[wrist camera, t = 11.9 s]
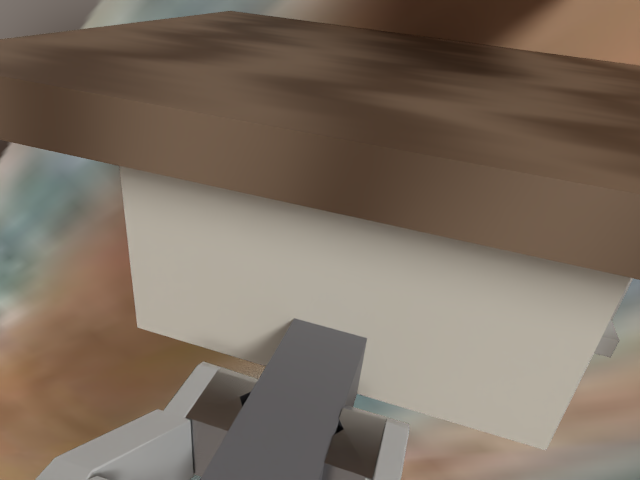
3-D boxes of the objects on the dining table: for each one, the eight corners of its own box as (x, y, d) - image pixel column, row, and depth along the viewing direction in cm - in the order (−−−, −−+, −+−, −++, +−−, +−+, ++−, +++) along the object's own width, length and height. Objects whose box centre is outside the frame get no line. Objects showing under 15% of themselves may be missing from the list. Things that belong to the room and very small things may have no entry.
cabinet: (575, 132, 17) (772, 461, 5) (524, 273, 20) (576, 691, 8) (260, 79, 20) (-86, 221, 8) (255, 212, 23) (-2, 462, 11)
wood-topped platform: (679, 71, 22) (1125, 283, 7) (586, 281, 27) (707, 657, 12) (230, 10, 26) (-119, 54, 11) (230, 202, 32) (-1, 402, 17)
